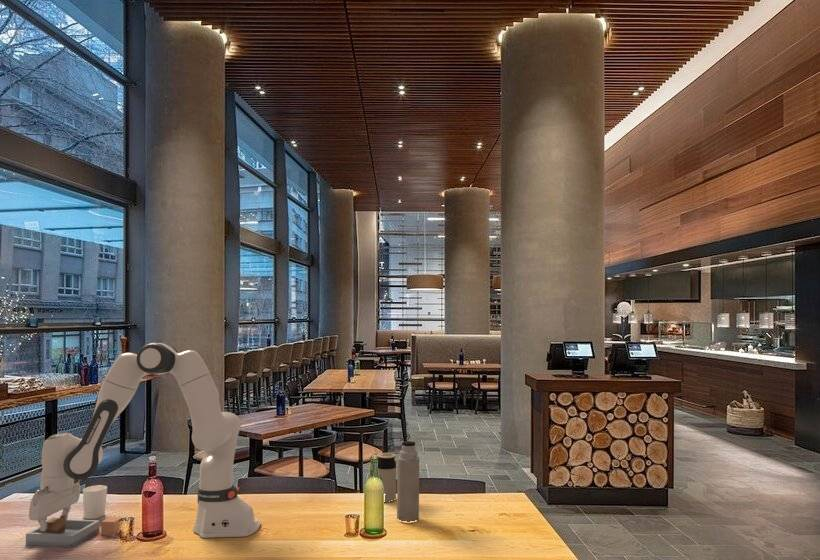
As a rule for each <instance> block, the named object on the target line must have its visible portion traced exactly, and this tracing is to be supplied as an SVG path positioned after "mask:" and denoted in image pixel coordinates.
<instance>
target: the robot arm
mask: <svg viewBox="0 0 820 560" xmlns="http://www.w3.org/2000/svg"><path fill="white" fill-rule="evenodd" d="M148 374H149V375H155V376H160V375H162V376H163V375H167V374H172V375H173V376H174V377H175V379H176V382H177V384H178V386H179V389H180V391H181V394H182V396H183V398H184V400H185V403H186V404H187V408H188V411H189V414H190V421H191V427H192V433H191V441H192V444H193V446H194V447H195V448H196V449H197V450H199V451H203V456H202V459H201V462H200V465H199V485H198V486H199V487H197V513H196V518H195V523H194V525H193V529H192V531H193V532H194V533H195V534H197V535H199V537H200V538H202V539H205V538H206V539H207V538H234V537H235V538H237V537H238V538H239V537H240V538H241V537H243V538H244V537H247V536H251V535H253V534H254V533H256V532H257V531H258V530H259V529H260V528H259V527H261V526H260V525H261V524H262V523H261V520H259V519H255V513H254V509H253V508H252V506H251V505H250V504H248V503H247V502H245V501H244V499H242V498H241V497H239V496H238V494H239V493H238V491H239V490H240V486H238V487H235V486H234V484H233V482H234V481H233V480H234V479H233V478H234V477H233V474H234V461H235V455H236V451H237V450H236V449H237V444H238V437H239V433H240V430H241V427H242V426H241V424H242V423H241V421H240V418H239V416H238V415H237V414H235V413H233V412H229V411H222V408H221V406H220V393H219V390H218V387H217V385H216V384H215V381H214V379H213V377H212V374H211V372H210V370H209V368H208V366H207V365H206V363H205V361H204V358H202V356H201V355H200V354H199V353H198V352H197V351H195V350H192V349H189V350H184V351H181V352H178V351H177V349H176V348H175V347H173V346H171V345H170V344H169V345H168V344H166V343H163V342H150V343H148V344H145V345H143V346H142V347H141V348H140V349H139V350H138V352H137V353H133V352H125V353H121V354H119V355H118V356H117V358H116V359H115V361H114V362H113V363H112V365H111V366H110V368H109V369H108V372H107V373H106V375H105V377H104V379H103V381H102V384H101V386H100V389H99V392H98V396H97V400H96V402H95V407H94V412H93V415H92V418H91V420H90V422H89V423H88V426H87V428H86V430H85V432H84V434H83V436H82V438H79V437H77V436H75V435H73V434H72V433H70V432H60V433H56V434H52V435H50V436H49V437H47V438H46V439H45V440H44V442H43V444H42V450H41V463H40V464H41V466H42V467H41V468H42V470H41V472H40V473H41V474H40V489H38V490H35V492H34V494H33V495H32V497H31V500H30V505H29V509H28V510H29V511H28V519H29V520H30V521H37V522H38V524H39V527H40V530H41V531H46V530H47V529H48V528H49V527H48V526H49V524H47V523H46V521H47V520H48V517H50V516H52V515H53V514H56V513H57V512H60V511H62V512H61V515H60V516H59V518H65V520H67V519H69V513H70V511H71V509H72V507H71V506H73V505H74V504H77V503H78V501H79V500H80V495H81V484H80V482H81V480H86V479H89V478H90V477H92V476H93V475H94V474H95V473H96V472H97V469H98V468H99V467H98V466H99V464H100V463H101V462H102V459H103V457H104V449H103V446H102V445H103V442H104V441H105V439H106V436H107V434H108V432H109V429H110V428H111V427H112V424H113V423H114V422H115V420H116V419H117V418H118V417H119V415H120V414H122V412H123V411H124V410H125V409H126V408H127V406H129V403H130V402H131V401H132V399H133V397H134V396H135V394H136V392H137V390H138V387H139V385H140V384H141V383H140V382H141V381H142V379H143V378H144V377H145V376H146V375H148Z"/></svg>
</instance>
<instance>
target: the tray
mask: <svg viewBox="0 0 820 560" xmlns="http://www.w3.org/2000/svg"><path fill="white" fill-rule="evenodd" d="M100 522H101V520H97V519H71V518H68V519H67V520H65V532H64V533H62V534H54V533H43V531H41V530H40V526H39V527H36V528H34V529H32V530H31V531H28V532H26V533H25V545H26V546H48V547H69V548H74V547H75V546H76V545H78V544H80V543H82V542H83V541H85V540H87V539H88V538H90V537H91V536H93V535H95V534H96V533H98V532H99V531H100Z"/></svg>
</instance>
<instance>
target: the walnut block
mask: <svg viewBox="0 0 820 560" xmlns="http://www.w3.org/2000/svg"><path fill="white" fill-rule="evenodd" d="M46 523H47V524H49V526H48V527H49V528H48V529H47V530H46V531H43V533H54V534H62V533H64V532H65V518H60V517H51V518H49V519H47V520H46Z"/></svg>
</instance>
